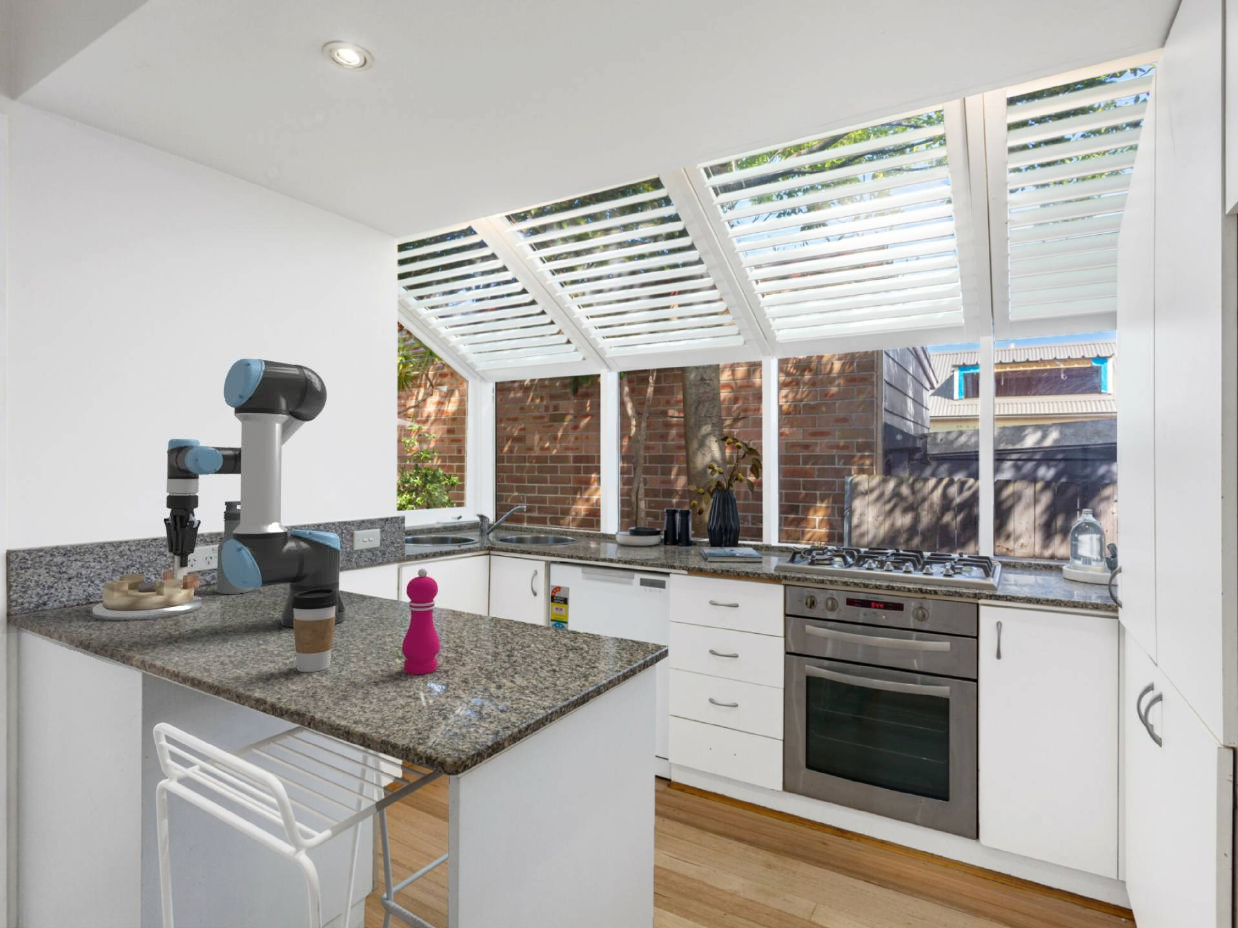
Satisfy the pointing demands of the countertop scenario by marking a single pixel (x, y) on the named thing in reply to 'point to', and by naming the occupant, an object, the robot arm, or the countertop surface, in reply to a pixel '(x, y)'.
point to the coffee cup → (314, 628)
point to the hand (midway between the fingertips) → (180, 578)
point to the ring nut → (148, 592)
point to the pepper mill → (421, 626)
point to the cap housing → (146, 611)
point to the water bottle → (229, 526)
